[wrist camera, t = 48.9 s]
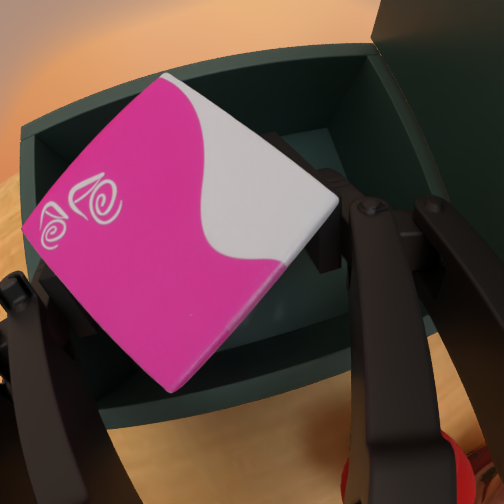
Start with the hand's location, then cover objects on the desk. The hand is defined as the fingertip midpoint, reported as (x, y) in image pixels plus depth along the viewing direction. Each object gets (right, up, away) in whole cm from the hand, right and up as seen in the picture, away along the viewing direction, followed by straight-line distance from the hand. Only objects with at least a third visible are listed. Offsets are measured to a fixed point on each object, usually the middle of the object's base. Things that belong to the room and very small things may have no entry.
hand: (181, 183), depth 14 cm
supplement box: (+1, -4, +4) cm, 6 cm away
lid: (+10, +2, -12) cm, 15 cm away
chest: (+2, -3, +6) cm, 7 cm away
